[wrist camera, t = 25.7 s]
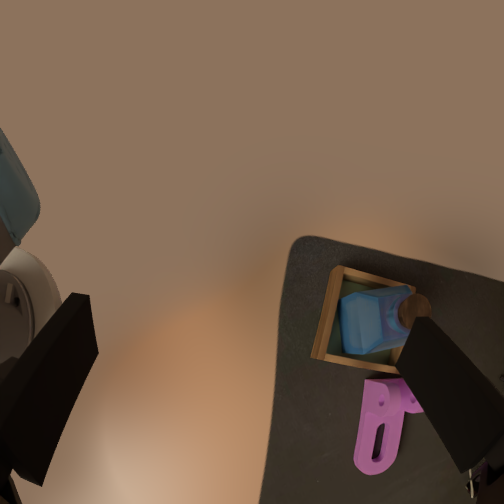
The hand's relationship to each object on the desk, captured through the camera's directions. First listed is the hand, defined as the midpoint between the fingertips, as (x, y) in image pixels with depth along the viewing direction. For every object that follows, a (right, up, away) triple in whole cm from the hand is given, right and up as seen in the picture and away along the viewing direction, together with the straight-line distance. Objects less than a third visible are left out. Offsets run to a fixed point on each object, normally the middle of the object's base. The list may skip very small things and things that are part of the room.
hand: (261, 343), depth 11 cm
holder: (+13, -5, +23) cm, 27 cm away
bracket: (+15, -18, +20) cm, 31 cm away
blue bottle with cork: (+13, -5, +23) cm, 27 cm away
